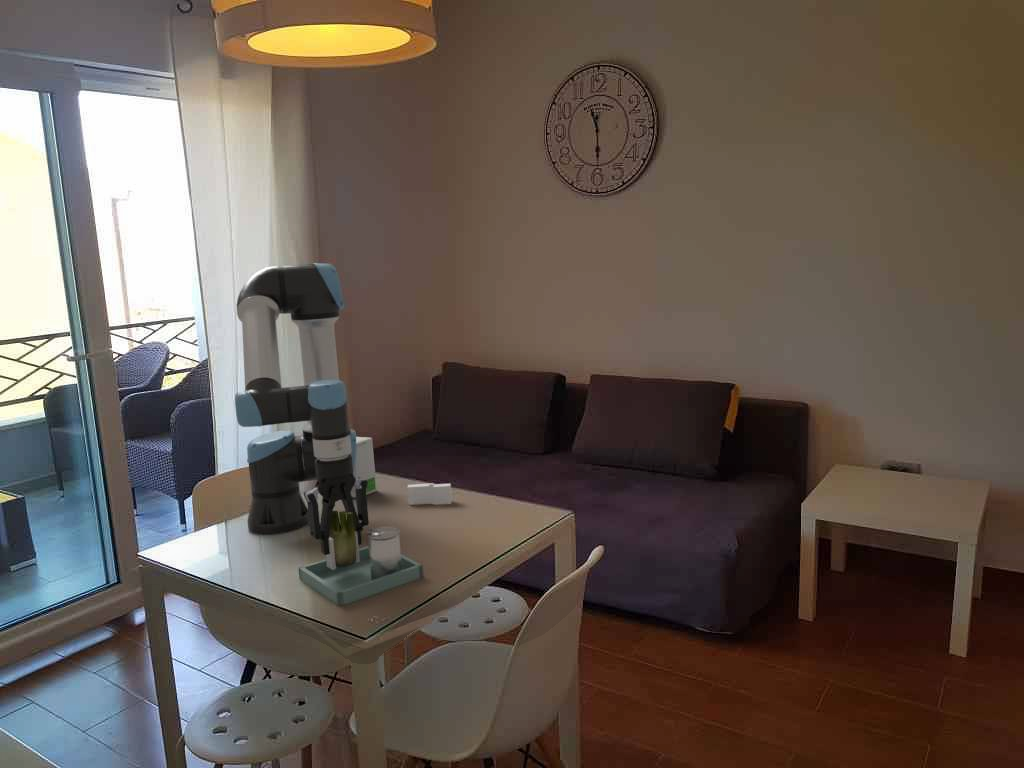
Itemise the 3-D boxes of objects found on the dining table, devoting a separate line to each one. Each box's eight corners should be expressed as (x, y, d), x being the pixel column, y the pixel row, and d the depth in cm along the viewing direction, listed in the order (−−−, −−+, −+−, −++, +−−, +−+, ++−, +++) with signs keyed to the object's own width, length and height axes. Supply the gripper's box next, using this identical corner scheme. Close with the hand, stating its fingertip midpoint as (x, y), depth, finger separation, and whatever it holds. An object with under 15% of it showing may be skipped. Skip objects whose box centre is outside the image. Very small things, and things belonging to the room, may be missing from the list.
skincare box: (358, 499, 225) (353, 444, 223) (340, 496, 229) (335, 442, 226) (378, 490, 232) (373, 437, 230) (360, 487, 236) (355, 435, 233)
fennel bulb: (361, 565, 171) (356, 510, 169) (341, 572, 168) (335, 516, 166) (345, 558, 175) (340, 504, 173) (325, 565, 172) (320, 511, 170)
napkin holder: (396, 507, 218) (394, 486, 217) (425, 495, 227) (424, 475, 226) (438, 516, 209) (436, 494, 208) (466, 503, 218) (465, 482, 217)
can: (364, 579, 168) (360, 532, 167) (392, 570, 172) (388, 524, 171) (380, 588, 163) (376, 540, 161) (409, 579, 167) (405, 531, 165)
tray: (300, 583, 170) (298, 567, 170) (380, 557, 182) (378, 542, 181) (339, 611, 157) (338, 593, 156) (423, 581, 168) (422, 565, 167)
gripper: (300, 469, 159) (311, 581, 163) (380, 450, 170) (389, 556, 174) (284, 462, 165) (295, 571, 169) (363, 444, 176) (372, 547, 180)
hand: (343, 563), depth 171 cm, fingers closed on fennel bulb, 5 cm apart
